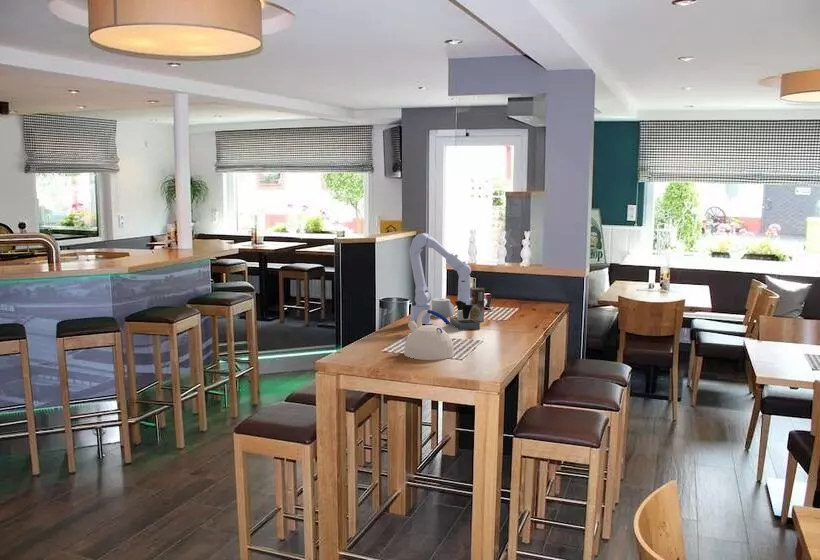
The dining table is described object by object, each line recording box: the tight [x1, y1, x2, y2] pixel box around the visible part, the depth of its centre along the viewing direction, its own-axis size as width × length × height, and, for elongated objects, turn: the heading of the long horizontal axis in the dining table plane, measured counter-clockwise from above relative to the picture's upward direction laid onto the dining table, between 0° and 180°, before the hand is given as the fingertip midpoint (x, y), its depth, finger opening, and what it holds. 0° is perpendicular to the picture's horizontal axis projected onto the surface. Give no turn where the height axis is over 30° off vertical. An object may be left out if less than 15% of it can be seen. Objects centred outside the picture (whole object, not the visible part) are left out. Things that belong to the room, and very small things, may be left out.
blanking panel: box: [456, 309, 470, 320], centre depth 345 cm, size 6×2×7 cm, turn 102°
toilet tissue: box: [431, 297, 456, 318], centre depth 372 cm, size 9×13×9 cm
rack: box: [449, 316, 481, 331], centre depth 344 cm, size 10×16×3 cm, turn 13°
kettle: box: [403, 309, 455, 361], centre depth 285 cm, size 20×21×18 cm
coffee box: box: [470, 287, 485, 322], centre depth 359 cm, size 9×6×16 cm
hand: (463, 317), depth 345 cm, fingers open, 7 cm apart
